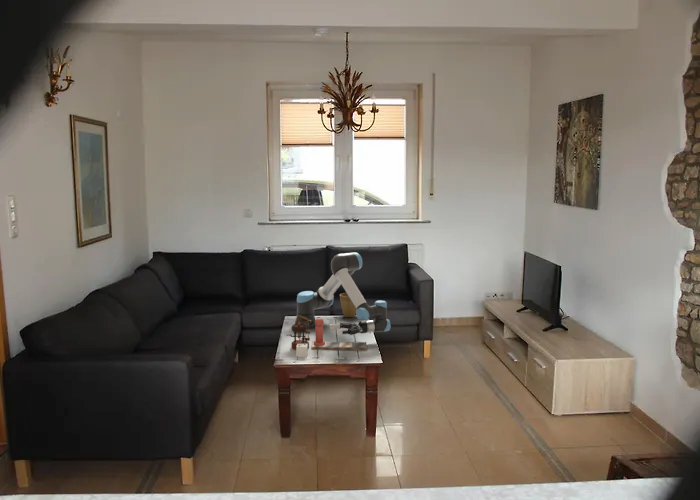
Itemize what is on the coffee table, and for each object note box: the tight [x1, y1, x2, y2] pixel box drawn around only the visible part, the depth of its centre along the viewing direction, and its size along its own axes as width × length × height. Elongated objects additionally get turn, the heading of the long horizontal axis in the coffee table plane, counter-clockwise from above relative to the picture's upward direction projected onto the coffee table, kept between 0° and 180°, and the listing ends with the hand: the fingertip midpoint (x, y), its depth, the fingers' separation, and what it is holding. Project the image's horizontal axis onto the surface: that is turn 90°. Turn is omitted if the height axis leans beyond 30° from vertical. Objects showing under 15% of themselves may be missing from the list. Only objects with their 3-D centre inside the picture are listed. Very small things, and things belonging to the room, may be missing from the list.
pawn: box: [313, 317, 326, 346], centre depth 357 cm, size 7×7×16 cm
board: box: [310, 341, 368, 351], centre depth 358 cm, size 33×12×2 cm, turn 90°
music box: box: [286, 316, 312, 351], centre depth 353 cm, size 15×11×20 cm
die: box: [295, 344, 308, 358], centre depth 341 cm, size 6×6×6 cm
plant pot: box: [339, 292, 357, 318], centre depth 433 cm, size 15×15×16 cm
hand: (333, 329), depth 360 cm, fingers open, 13 cm apart
